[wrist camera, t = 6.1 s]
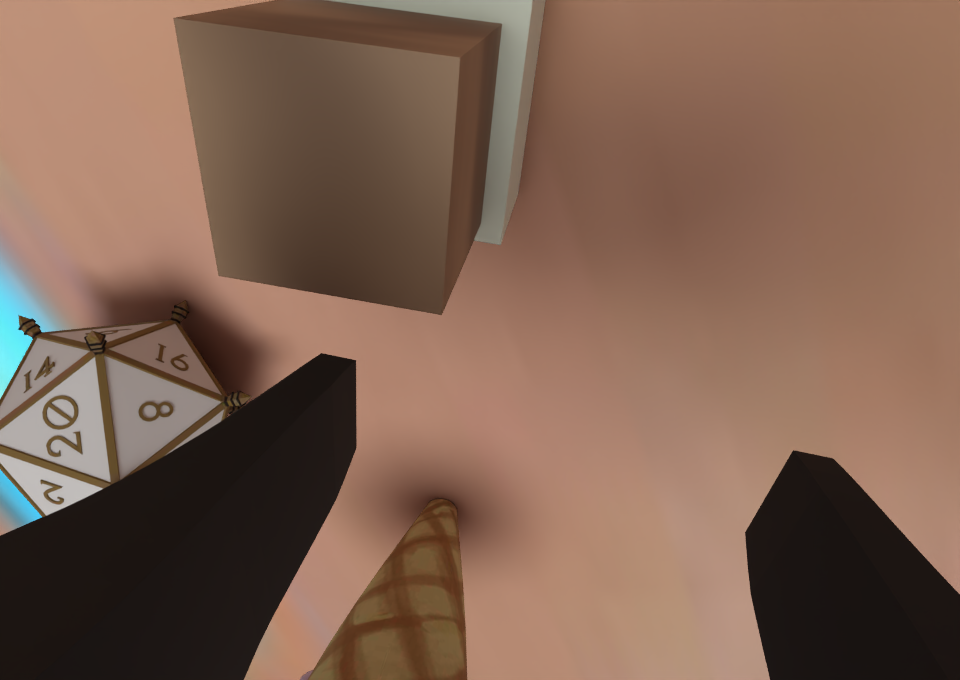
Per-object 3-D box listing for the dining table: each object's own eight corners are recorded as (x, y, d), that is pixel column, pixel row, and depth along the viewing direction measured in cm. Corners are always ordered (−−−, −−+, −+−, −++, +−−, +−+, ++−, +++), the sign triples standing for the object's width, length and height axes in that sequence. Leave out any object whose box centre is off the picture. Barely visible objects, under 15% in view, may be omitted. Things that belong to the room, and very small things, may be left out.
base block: (547, -12, 15) (532, 0, 12) (519, 191, 18) (500, 245, 15) (343, -38, 16) (276, -34, 13) (349, 165, 19) (296, 211, 16)
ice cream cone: (395, 556, 30) (249, 990, 17) (342, 467, 27) (120, 915, 14) (523, 547, 28) (459, 1032, 15) (481, 449, 25) (360, 955, 12)
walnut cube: (502, 24, 12) (460, 57, 9) (480, 223, 15) (442, 314, 11) (296, -4, 13) (173, 17, 9) (310, 195, 15) (218, 275, 12)
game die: (190, 295, 27) (-106, 283, 19) (317, 310, 23) (2, 303, 14) (183, 483, 28) (-105, 551, 20) (305, 533, 24) (-2, 651, 15)
